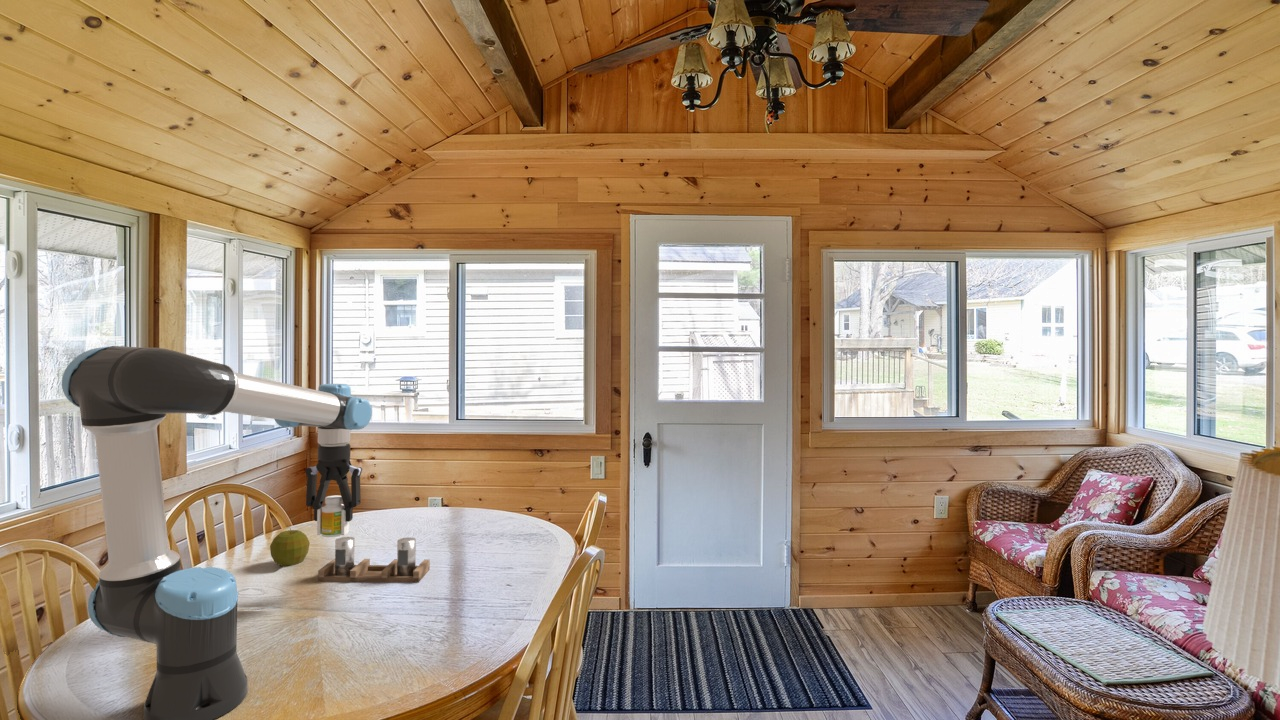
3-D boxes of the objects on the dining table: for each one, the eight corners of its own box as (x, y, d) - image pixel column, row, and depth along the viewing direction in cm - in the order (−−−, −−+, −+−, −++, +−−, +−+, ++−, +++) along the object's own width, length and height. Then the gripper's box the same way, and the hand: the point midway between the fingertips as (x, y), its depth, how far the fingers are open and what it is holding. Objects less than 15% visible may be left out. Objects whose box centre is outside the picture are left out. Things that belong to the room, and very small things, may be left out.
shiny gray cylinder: (348, 579, 163) (348, 543, 162) (330, 579, 163) (330, 543, 162) (357, 571, 168) (357, 536, 168) (340, 571, 168) (340, 536, 168)
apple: (261, 569, 171) (262, 531, 171) (289, 557, 181) (289, 521, 181) (290, 572, 169) (291, 534, 169) (316, 561, 179) (317, 524, 178)
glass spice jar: (411, 580, 163) (411, 543, 163) (393, 579, 163) (393, 543, 163) (417, 572, 169) (418, 537, 168) (400, 572, 168) (401, 537, 168)
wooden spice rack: (418, 585, 162) (418, 571, 162) (318, 585, 161) (318, 570, 161) (429, 573, 171) (429, 559, 171) (334, 572, 170) (334, 558, 170)
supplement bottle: (334, 538, 150) (335, 500, 150) (316, 536, 151) (316, 498, 151) (349, 532, 155) (350, 495, 155) (331, 530, 157) (332, 493, 156)
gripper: (376, 442, 157) (375, 529, 157) (306, 440, 156) (305, 528, 157) (363, 446, 149) (362, 538, 150) (289, 445, 149) (288, 537, 149)
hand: (333, 533), depth 153 cm, fingers closed on supplement bottle, 5 cm apart
